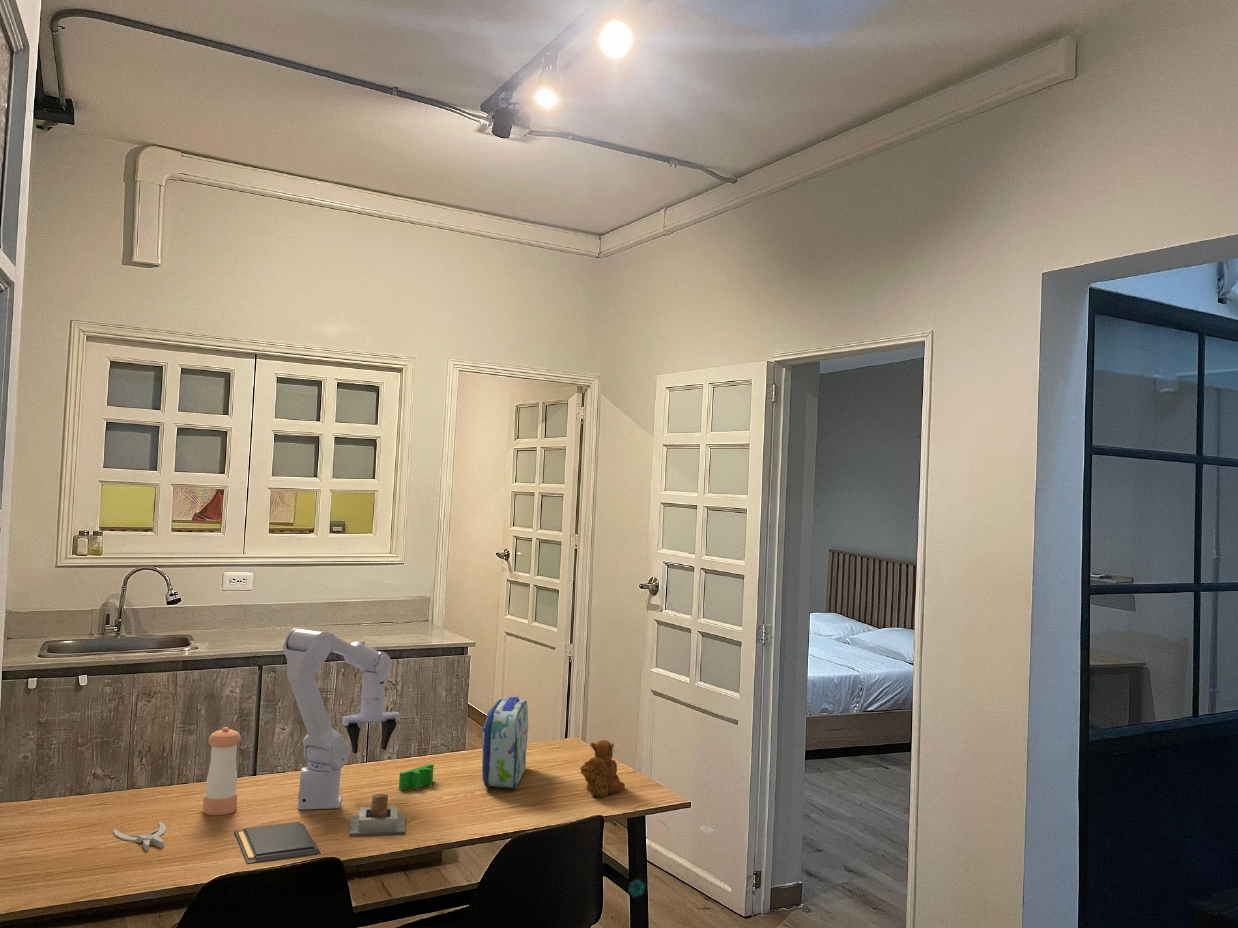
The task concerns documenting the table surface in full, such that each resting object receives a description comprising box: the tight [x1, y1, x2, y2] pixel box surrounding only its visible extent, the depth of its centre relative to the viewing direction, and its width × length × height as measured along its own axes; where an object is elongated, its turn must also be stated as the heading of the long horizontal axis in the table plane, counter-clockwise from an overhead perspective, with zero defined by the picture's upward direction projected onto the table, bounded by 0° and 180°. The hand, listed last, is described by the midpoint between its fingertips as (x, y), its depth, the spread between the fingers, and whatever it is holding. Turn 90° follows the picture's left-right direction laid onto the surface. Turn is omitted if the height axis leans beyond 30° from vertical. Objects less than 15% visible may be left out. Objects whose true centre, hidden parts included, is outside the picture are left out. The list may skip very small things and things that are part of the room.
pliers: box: [113, 821, 167, 852], centre depth 192 cm, size 10×2×15 cm
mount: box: [348, 806, 406, 837], centre depth 206 cm, size 12×12×3 cm
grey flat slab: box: [233, 821, 322, 865], centre depth 193 cm, size 20×2×15 cm
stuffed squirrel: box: [579, 739, 626, 798], centre depth 238 cm, size 10×14×13 cm
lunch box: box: [481, 696, 529, 789], centre depth 246 cm, size 26×11×21 cm, turn 179°
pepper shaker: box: [202, 726, 242, 816], centre depth 211 cm, size 7×7×19 cm
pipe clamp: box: [398, 763, 434, 791], centre depth 235 cm, size 11×4×5 cm, turn 148°
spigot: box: [370, 793, 389, 818], centre depth 206 cm, size 4×4×6 cm
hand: (369, 750), depth 232 cm, fingers open, 7 cm apart
